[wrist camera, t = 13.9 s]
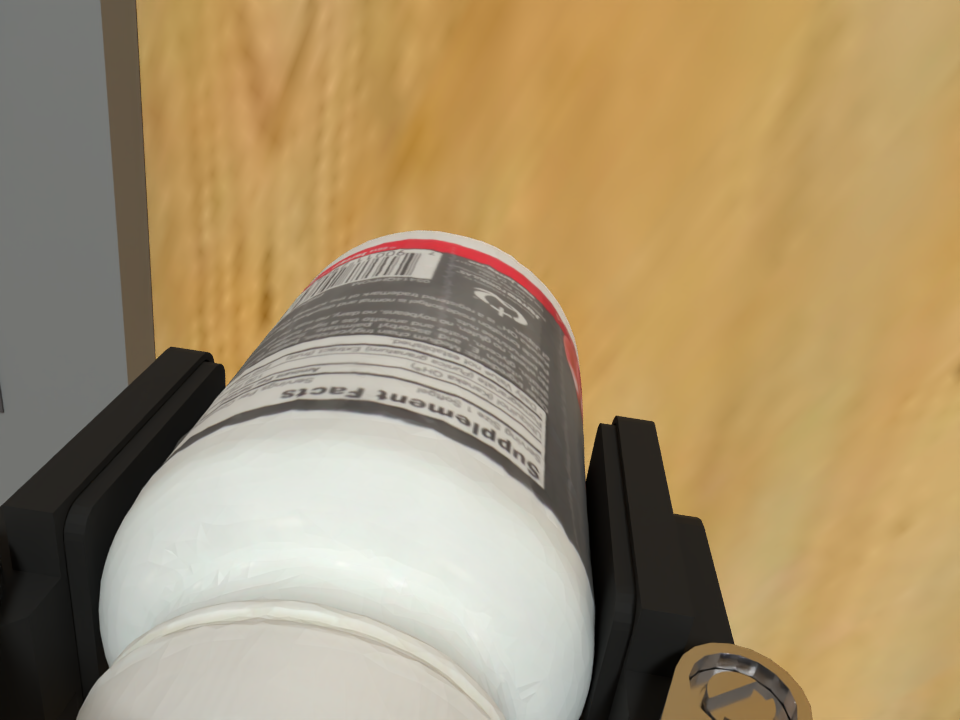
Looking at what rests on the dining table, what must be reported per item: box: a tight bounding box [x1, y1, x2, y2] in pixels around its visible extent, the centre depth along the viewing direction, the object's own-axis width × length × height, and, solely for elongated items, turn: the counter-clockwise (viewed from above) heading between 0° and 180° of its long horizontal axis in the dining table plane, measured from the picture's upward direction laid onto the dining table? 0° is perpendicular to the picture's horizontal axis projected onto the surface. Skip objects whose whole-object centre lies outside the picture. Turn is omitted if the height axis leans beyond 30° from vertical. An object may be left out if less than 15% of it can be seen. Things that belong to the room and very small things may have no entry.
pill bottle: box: [76, 230, 597, 720], centre depth 10 cm, size 5×5×10 cm
